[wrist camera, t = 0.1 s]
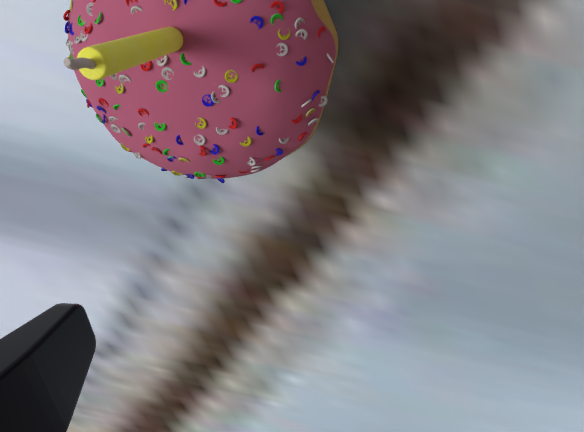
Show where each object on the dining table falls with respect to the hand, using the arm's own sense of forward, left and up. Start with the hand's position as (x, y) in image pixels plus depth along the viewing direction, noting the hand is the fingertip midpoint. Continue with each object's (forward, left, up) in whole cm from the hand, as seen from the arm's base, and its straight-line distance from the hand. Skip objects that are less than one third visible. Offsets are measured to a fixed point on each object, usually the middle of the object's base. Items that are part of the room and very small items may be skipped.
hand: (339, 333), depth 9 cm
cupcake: (+2, +5, -15) cm, 16 cm away
